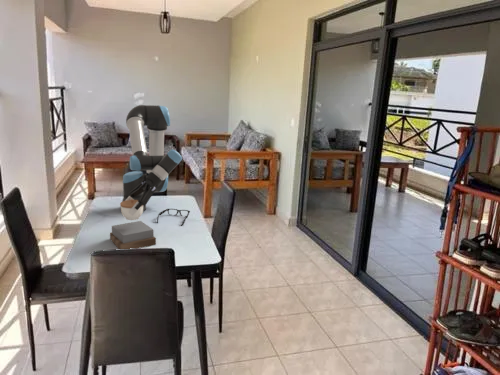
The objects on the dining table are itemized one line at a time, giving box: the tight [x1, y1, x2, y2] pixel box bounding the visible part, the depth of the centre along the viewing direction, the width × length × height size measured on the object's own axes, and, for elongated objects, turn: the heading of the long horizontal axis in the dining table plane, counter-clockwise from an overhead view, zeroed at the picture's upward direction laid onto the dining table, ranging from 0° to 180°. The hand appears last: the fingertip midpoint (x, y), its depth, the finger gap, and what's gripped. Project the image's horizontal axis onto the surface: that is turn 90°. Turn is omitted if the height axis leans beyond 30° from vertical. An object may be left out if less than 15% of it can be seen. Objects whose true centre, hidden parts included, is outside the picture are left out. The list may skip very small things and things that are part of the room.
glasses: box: [156, 208, 191, 227], centre depth 227 cm, size 17×18×5 cm
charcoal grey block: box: [111, 220, 155, 243], centre depth 191 cm, size 15×15×4 cm
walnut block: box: [109, 231, 157, 250], centre depth 192 cm, size 17×17×4 cm
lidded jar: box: [119, 199, 144, 221], centre depth 188 cm, size 11×11×9 cm
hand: (126, 210), depth 187 cm, fingers closed on lidded jar, 11 cm apart
